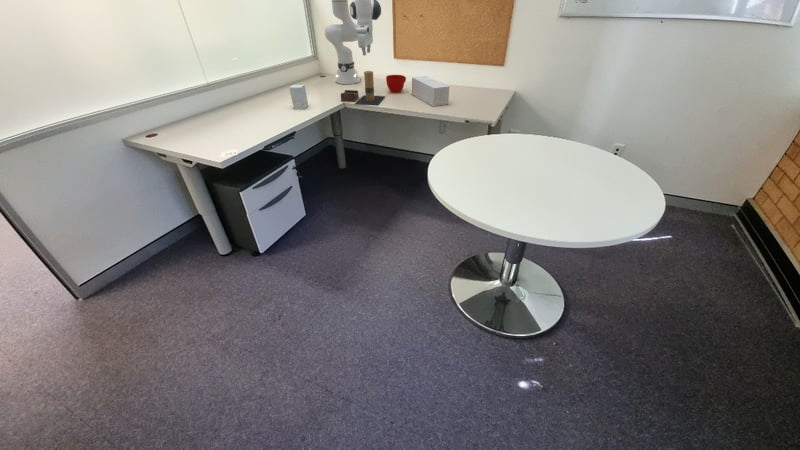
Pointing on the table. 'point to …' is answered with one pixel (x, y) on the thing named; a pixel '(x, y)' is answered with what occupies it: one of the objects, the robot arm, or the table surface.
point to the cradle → (349, 95)
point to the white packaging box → (298, 96)
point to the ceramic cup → (395, 82)
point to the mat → (375, 102)
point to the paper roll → (369, 85)
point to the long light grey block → (430, 90)
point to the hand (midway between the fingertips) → (366, 53)
